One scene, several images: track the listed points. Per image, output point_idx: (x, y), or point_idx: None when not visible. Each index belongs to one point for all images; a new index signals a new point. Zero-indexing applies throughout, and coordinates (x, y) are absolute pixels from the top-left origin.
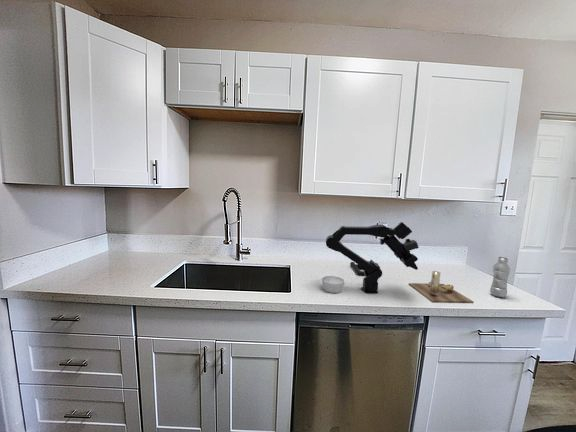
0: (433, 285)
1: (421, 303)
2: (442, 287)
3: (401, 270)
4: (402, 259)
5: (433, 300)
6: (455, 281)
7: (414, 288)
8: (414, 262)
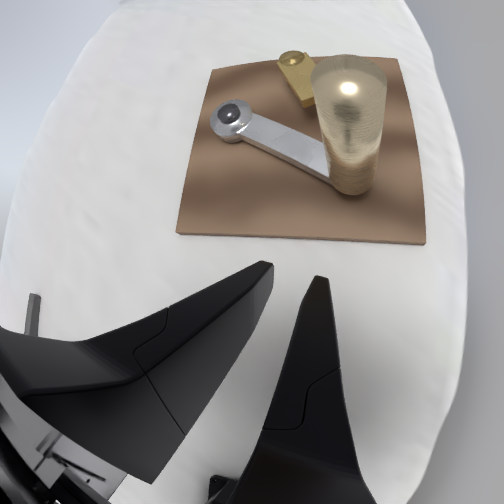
0: (369, 168)
1: (432, 322)
2: (311, 101)
3: (63, 179)
4: (125, 475)
5: (421, 233)
6: (193, 34)
7: (237, 235)
8: (343, 404)
